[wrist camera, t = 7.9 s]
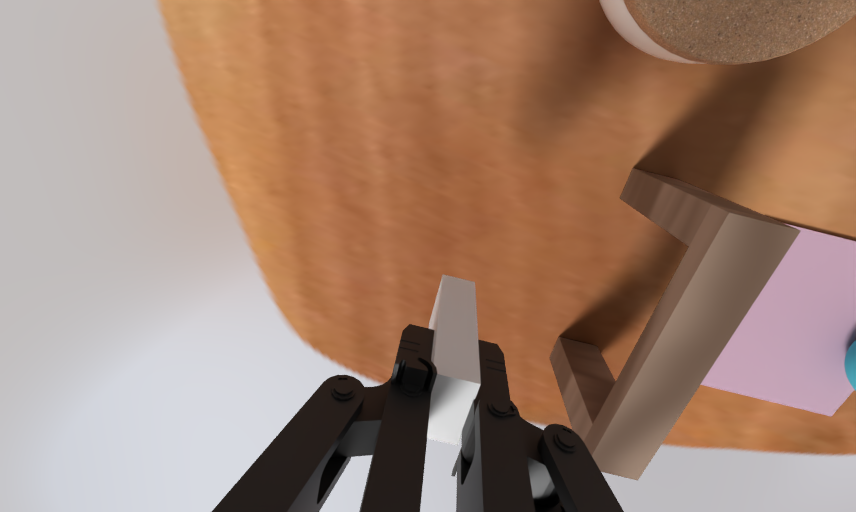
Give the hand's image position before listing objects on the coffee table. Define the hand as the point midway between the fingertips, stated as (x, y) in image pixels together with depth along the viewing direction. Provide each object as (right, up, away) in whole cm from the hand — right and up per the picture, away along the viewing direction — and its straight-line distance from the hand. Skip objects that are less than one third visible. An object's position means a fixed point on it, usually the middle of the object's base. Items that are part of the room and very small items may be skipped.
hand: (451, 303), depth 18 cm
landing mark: (+25, -3, +10) cm, 27 cm away
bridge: (+11, +1, +9) cm, 15 cm away
